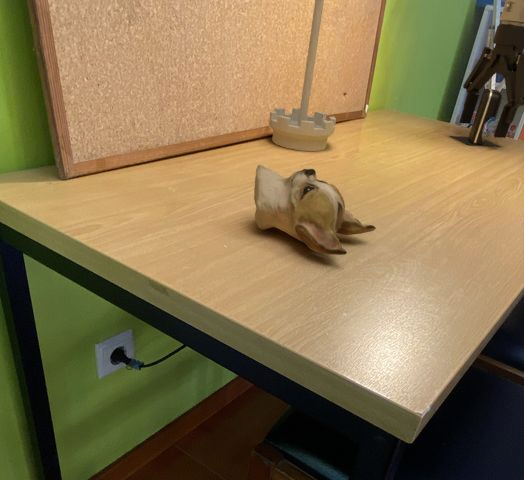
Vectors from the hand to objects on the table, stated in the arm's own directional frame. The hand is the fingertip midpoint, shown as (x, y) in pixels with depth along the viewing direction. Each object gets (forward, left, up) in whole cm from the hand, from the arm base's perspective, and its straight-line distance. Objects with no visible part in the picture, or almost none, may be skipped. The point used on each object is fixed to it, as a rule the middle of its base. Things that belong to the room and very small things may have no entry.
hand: (481, 130), depth 120 cm
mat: (+1, 0, -3) cm, 3 cm away
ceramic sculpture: (-54, +65, -3) cm, 85 cm away
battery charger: (0, 0, -3) cm, 3 cm away
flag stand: (-8, +49, -3) cm, 50 cm away
